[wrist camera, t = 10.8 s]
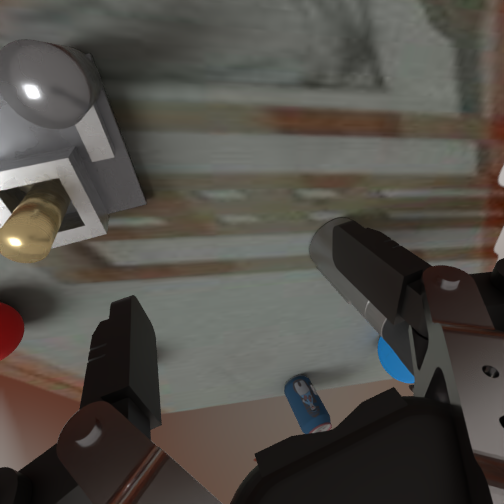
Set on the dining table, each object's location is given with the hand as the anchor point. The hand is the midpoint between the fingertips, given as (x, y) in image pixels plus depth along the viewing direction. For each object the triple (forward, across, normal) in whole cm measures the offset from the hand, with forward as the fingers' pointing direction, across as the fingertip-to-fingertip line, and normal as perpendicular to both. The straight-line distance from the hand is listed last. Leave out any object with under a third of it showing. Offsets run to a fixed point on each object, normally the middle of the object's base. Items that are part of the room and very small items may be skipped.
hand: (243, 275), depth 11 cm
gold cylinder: (+23, +13, +1) cm, 27 cm away
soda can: (+26, -10, +61) cm, 67 cm away
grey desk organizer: (+24, +11, -2) cm, 27 cm away
